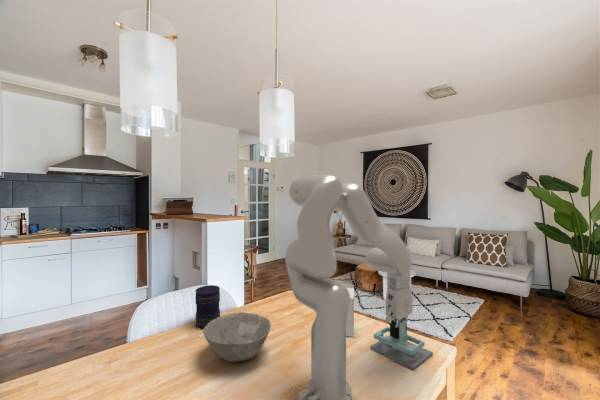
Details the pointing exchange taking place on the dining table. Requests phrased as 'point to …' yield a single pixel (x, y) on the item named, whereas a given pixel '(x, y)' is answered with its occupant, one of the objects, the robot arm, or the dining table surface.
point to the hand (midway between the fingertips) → (398, 334)
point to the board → (402, 354)
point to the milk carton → (350, 312)
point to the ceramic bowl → (237, 335)
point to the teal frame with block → (400, 339)
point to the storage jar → (207, 305)
